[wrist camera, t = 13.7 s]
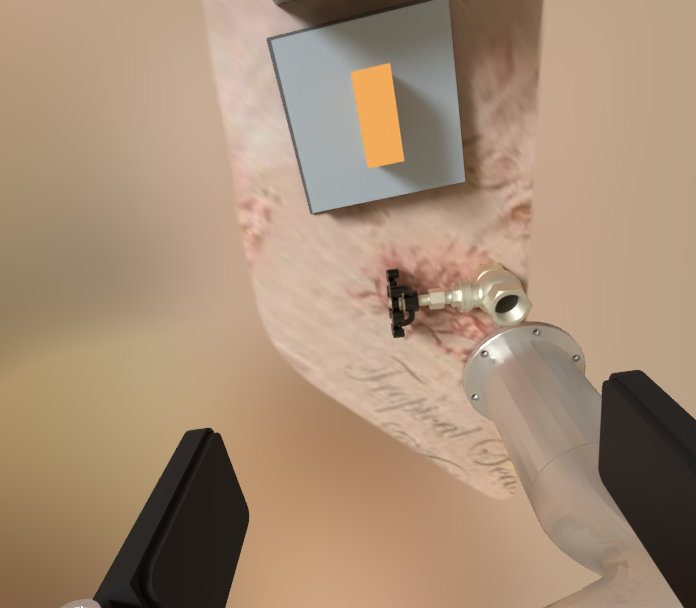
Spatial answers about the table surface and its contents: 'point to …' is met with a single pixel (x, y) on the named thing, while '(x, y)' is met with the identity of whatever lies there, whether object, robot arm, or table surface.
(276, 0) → the tub
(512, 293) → the valve
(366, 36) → the lid
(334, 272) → the table surface
